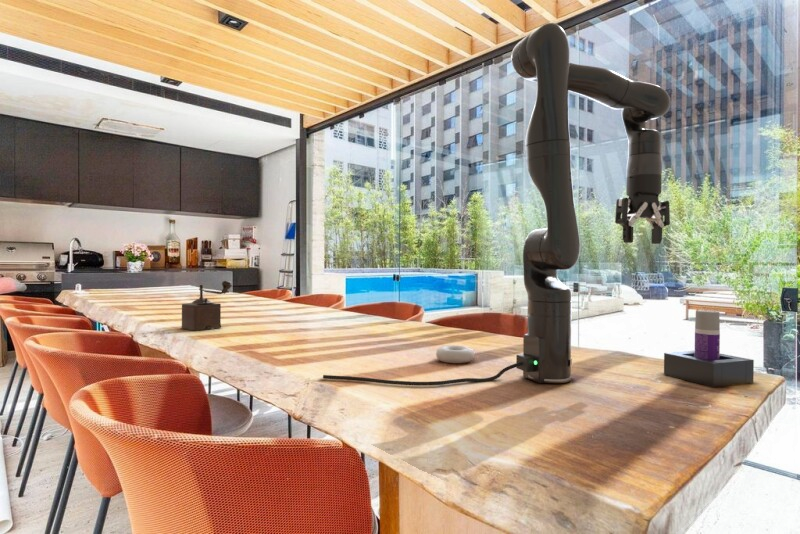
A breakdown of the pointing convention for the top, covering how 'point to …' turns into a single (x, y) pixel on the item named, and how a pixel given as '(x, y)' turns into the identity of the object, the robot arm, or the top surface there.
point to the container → (707, 335)
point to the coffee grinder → (203, 311)
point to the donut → (455, 354)
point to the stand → (709, 369)
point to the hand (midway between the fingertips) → (642, 243)
